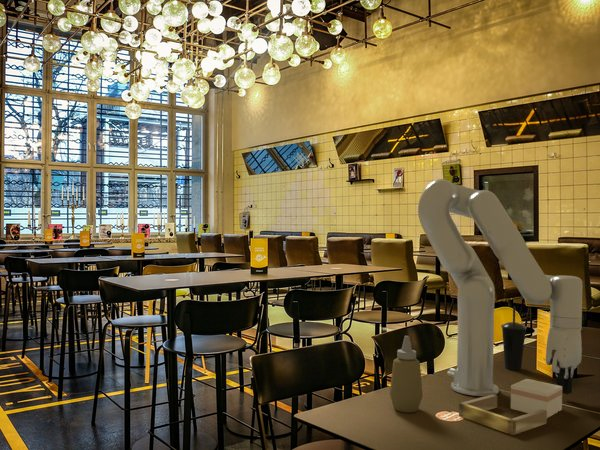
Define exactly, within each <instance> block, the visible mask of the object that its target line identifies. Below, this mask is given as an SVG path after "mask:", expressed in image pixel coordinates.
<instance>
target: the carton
mask: <svg viewBox="0 0 600 450" xmlns="http://www.w3.org/2000/svg"><path fill="white" fill-rule="evenodd" d="M510 409H512V410H515V411H518V412H523V413H526V414H528V413H531V412H534V411H538V410H541V409H543V410H546V411H547V419H548V418H550V417H552V416H553V415H555V414H557V413H558V411H559V412H560V411H562V410H563V393H562V386H558V385H557V384H553V383H548V382H544V381H538V380H535V379H529V378H525V379H523V380H520V381H518V382H515V383H513V384H511V385H510Z"/></svg>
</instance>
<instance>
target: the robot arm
mask: <svg viewBox="0 0 600 450" xmlns="http://www.w3.org/2000/svg"><path fill="white" fill-rule="evenodd" d="M451 213H452V214H454V215H455V214H456V215H457V216H458V215H459V216H462V217H466V218H470V219H472V221H473V222H474V223H475V225H476V226H477V228H478V229H479V231H480V232H481V234H482V235H483V237H484V239H485V241H486V242H487V244H488V245H489V247H490V248H491V250H492V251H493V253H494V255H495V256H496V258H497V259H498V261H499V262H500V263H501V265H502V266H503V268H504V269H505V271H506V272H507V274H508V275H509V277H510V278H511V280H512V281H513V284H514V285H515V287H516V288H517V290H518V291H519V293H520V295H521V296H522V298H523V299H524V300H525V301H526V302H527V303H530V304H532V305H543V304H545V303H547V302H548V301H550V307H549V309H550V311H549V312H550V313H549V329H548V334H547V338H546V339H547V340H546V348H545V349H546V350H545V363H546V365H547V366H551V370H550V371H551V372H552V373H555V377H556V385H558V386H562V394H565V395H569V394H572V393H573V392H572V388H573V378H574V370H575V369H576V368H578V365H579V364H581V363H582V355H583V354H582V353H583V351H582V350H583V346H582V332H581V331H582V324H583V322H582V320H583V318H582V317H583V314H582V313H583V281H582V279H581V278H580V277H578V276H574V275H564V274H563V275H561V274H560V275H548V274H545V273H544V271H543V270H542V268H541V267H540V266H539V264H538V262H537V261H536V259H535V257H534V255H533V254H532V252H531V251H530V249H529V248H528V245H527V243H526V241H525V239H524V237H523V235H522V234H521V233H520V231H519V230H518V228H517V226H516V225H515V223H514V222H513V220H512V218H511V217H510V215H509V214H508V212H507V211H506V209H505V208H504V205H503V204H502V202H501V201H500V200H499V198H498V197H497V195H496V194H495V193H493V192H492V191H490V190H487V189H482V190H478V189H475V188H471V187H466V186H463V185H459V184H456V183H454V182H451V181H450V180H447V179H444V178H438V179H435V180H433V181H431V182H430V183H428V185H427V186H426V187H425V188H424V189H423V192H422V193H421V196H420V198H419V201H418V207H417V214H418V215H417V216H418V219H419V223H420V225H421V228H422V230H423V232H424V234H425V235H426V237H427V239H428V241H429V243H430V245H431V247H432V249H433V251H434V252H435V254H436V256H437V259H438V260H439V262H440V264H441V267H442V268H443V269H444V271H446V272H447V273H448V274H449V275H450V276H451V278H452V280H453V282H454V283H455V286H456V287H457V343H456V345H457V350H456V352H457V354H456V355H457V356H456V368H454V367H450V368H449V369H448V370H447V373H446V375H447V376H448V377H451V378H453V381H452V382H451V383H450V388H451V390H453V391H454V392H457V393H459V394H463V395H467V396H473V397H474V396H475V397H485V396H489V395H492V394H494V395H498V394H499V391H500V390H499V389H500V388H499V386H498V385H496V384H495V383H494V341H495V340H494V337H495V336H494V335H495V333H494V331H495V330H494V329H495V328H494V325H495V324H494V323H495V300H496V299H495V298H496V297H495V296H496V294H495V293H496V291H495V285H494V282H493V280H492V279H491V277H490V276H489V273H488V272H487V271H486V269H485V267H484V265H483V263H482V261H481V260H480V258H479V256H478V255H477V252H475V250H474V248H473V246H471V245H470V244H469V243H467V242H466V241H465V239H464V238H463V236H462V235H461V232H460V231H459V229H458V227H457V225H456V224H455V222H454V219H453V218H452V216H451Z"/></svg>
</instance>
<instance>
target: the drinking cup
mask: <svg viewBox="0 0 600 450" xmlns="http://www.w3.org/2000/svg"><path fill="white" fill-rule="evenodd" d="M500 326H501V327H500V328H501V329H502V330H501V331H502V343H503V346H502V347H503V359H504V368H505V369H506V370H509V371H521V370H522V365H523V357H524V356H523V355H524V347H525V340H526V330H527V328H528V327H527V326H526V325H524V324H523V323H519V322H516V306H515V305H513V307H512V321H508V322H506V323H503V324H501V325H500Z"/></svg>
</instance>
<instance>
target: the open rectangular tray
mask: <svg viewBox="0 0 600 450" xmlns="http://www.w3.org/2000/svg"><path fill="white" fill-rule="evenodd" d="M496 408H498V394H496V395H494V394H492V395H489V396H480V397H478V398H473V399H470V400H466V401H463V402H459V404H458V416H459V417H461V418H464V419H466V420H469V421H471V422H475V423H478V424H479V425H484V426H486V427H488V428H491V429H494V430H498V431H499V432H503V433H506V434H508V435H511V436H515V435H517V434H521V433H523V432H526V431H529V430H532V429H535V428H537V427H541V426H543V425H546V424H547V423H548V421H547V419H548V418H547V411H546V410H543V409H541V410H538V411H534V412H531V413H526V414H523V415H519V416H517V417H514V418H511V417H507V416H504V415H500V414H498V413H495V412H493V411H491V410H493V409H496Z"/></svg>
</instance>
